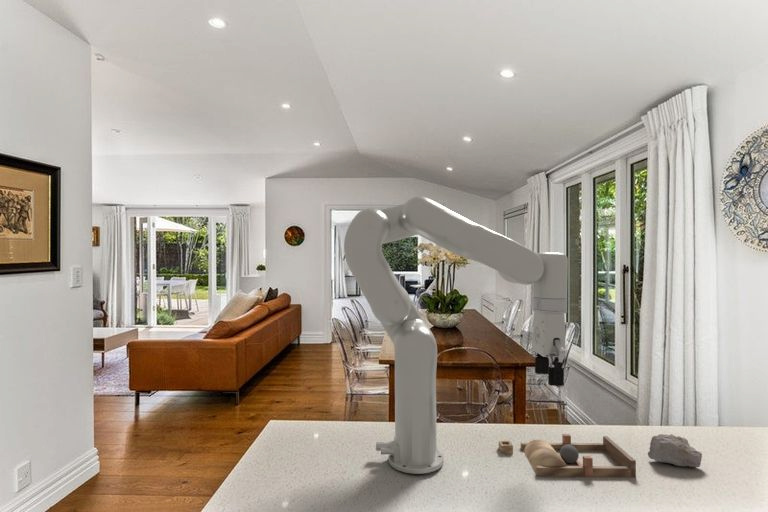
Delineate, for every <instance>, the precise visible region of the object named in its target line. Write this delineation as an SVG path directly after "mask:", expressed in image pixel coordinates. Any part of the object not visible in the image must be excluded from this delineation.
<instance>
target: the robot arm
mask: <svg viewBox="0 0 768 512" xmlns="http://www.w3.org/2000/svg"><path fill="white" fill-rule="evenodd" d="M347 227H348V228H347V229H346V232H345V234H344V235H345V236H344V241H343V252H344V258H345V261H346V264H347V267H348V269H349V271H350V272H351V274H352V277H353V278H354V280H355V282H356V284H357V285H358V287H359V289H360V291H361V293H362V295H363V296H364V298H365V300H366V302H367V303H368V305H369V307H370V309H371V312H372V313H373V315H374V317H375V318H376V319H377V321H379V322H380V323H381V325H382V327H383V328H384V331H385V332H386V333H387V335H388V338H390V340H391V342H392V344H393V347H394V431H395V432H394V434H395V436H393V440H389V442H386V441H385V442H384V441H376V442H375V451H376V452H378V451H379V452H380V455H388V462H389V465H390V466H391V467H392V468H393V469H395V470H397V471H399V472H403V473H406V474H414V475H417V474H419V475H420V474H428V473H433V472H435V471H438V470H439V469H440V468H442V467H443V465H444V455H443V453H441V452H440V451H439V450H438V449H437V363H438V345H437V339H436V338H435V335H434V333H433V332H432V330H431V329H430V328H429V327H428V326H427V324H426V322H425V320H424V319H423V318H422V316H421V314H420V313H419V311H418V309H417V308H416V306H415V304H414V302H413V301H412V299H411V297H410V294H409V293H408V291H407V290H406V289H405V287H403V286H402V284H401V283H400V281H399V279H398V277H397V276H396V274H395V273H394V272H393V269H392V268H391V265H390V264H389V262H388V260H387V259H386V257H385V255H384V252H383V245H385V244H388V243H393V242H396V241H400V240H405V239H407V238H411V237H414V236H420V237H422V238H424V239H425V240H427V241H430V242H431V243H433V244H435V245H437V246H438V247H441V248H442V249H444V250H445V251H448V252H450V253H451V254H453V255H455V256H458V257H460V258H462V259H466V260H471V261H474V262H477V263H480V264H482V265H485V266H487V267H489V268H491V269H493V270H495V271H497V272H498V274H499V276H500V277H501V278H502V279H503V280H504V281H506V282H509V283H512V284H519V285H525V286H527V285H532V311H533V318H532V319H533V321H532V334H531V335H532V336H531V349H532V350H533V351H534V352H535V353H534V355H535V358H534V372H535V374H536V375H548V376H547V378H548V379H547V382H548V383H547V385H549V386H554V387H555V386H556V387H558V386H560V387H563V386H564V383H565V381H564V379H565V362H566V359H565V358H566V357H565V356H566V320H565V314H567V313H568V272H569V271H568V267H569V266H568V265H569V264H568V263H569V262H568V261H569V259H568V256H567V255H566V254H565V253H562V252H549V251H548V252H537V253H536V252H535V251H534V250H532V249H530V248H528V247H527V246H525V245H523V244H520V243H519V242H517V241H515V240H514V239H512V238H509V237H507V236H505V235H502V234H501V233H499V232H496V231H494V230H491V229H489V228H487V227H486V226H483V225H480V224H478V223H477V222H473V221H472V220H470V219H468V218H467V217H464V216H462V215H460V214H458V213H456V212H455V211H452V210H450V209H449V208H447V207H446V206H443V205H442V204H440V203H438V202H437V201H434V200H433V199H431V198H428V197H425V196H421V195H418V196H417V195H416V196H413V197H411V198H410V199H408V200H407V201H406V202H405V203H402V204H400V205H396V206H392V207H388V208H385V209H381V210H380V209H378V208H374V207H373V208H372V207H367V208H364V209H362V210H360V211H358V213H356V215H354V217H353V218H352V220H351V222H350V224H349V226H347Z"/></svg>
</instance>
